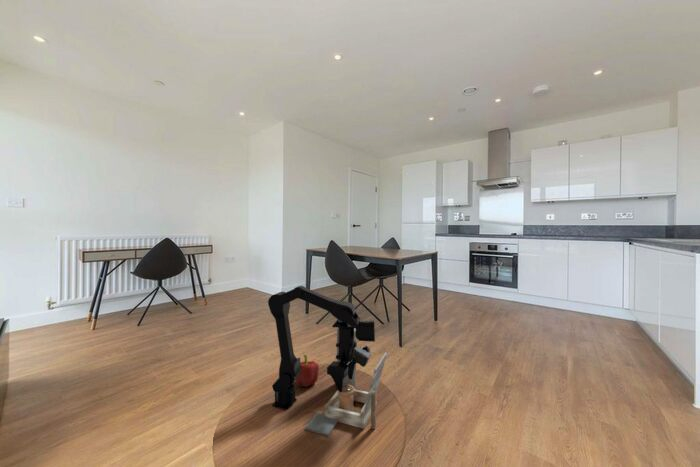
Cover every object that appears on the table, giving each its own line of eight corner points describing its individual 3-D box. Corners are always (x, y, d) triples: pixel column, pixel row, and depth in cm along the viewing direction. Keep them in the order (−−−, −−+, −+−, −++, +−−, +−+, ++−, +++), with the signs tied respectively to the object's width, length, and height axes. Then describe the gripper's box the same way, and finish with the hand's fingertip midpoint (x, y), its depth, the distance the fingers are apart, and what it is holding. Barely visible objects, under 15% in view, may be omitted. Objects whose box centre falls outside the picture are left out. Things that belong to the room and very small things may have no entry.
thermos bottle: (356, 380, 112) (356, 313, 113) (356, 390, 104) (356, 318, 105) (337, 379, 112) (337, 313, 114) (336, 390, 104) (336, 318, 106)
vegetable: (292, 378, 113) (292, 355, 114) (316, 375, 116) (316, 352, 117) (294, 392, 103) (295, 366, 103) (321, 388, 106) (321, 362, 106)
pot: (335, 412, 90) (335, 391, 91) (341, 402, 96) (341, 382, 96) (350, 416, 88) (350, 394, 89) (356, 406, 94) (356, 385, 94)
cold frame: (324, 417, 87) (324, 360, 88) (340, 395, 100) (341, 345, 101) (376, 432, 81) (376, 369, 82) (387, 406, 94) (387, 352, 95)
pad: (305, 429, 82) (305, 427, 82) (317, 414, 89) (317, 412, 89) (328, 436, 79) (328, 434, 79) (339, 419, 86) (339, 417, 86)
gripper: (358, 353, 82) (358, 405, 81) (375, 334, 99) (375, 377, 98) (326, 347, 86) (325, 397, 85) (347, 330, 103) (347, 371, 102)
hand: (345, 385), depth 92 cm, fingers open, 9 cm apart
